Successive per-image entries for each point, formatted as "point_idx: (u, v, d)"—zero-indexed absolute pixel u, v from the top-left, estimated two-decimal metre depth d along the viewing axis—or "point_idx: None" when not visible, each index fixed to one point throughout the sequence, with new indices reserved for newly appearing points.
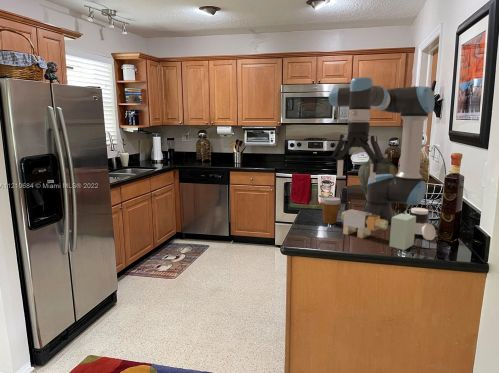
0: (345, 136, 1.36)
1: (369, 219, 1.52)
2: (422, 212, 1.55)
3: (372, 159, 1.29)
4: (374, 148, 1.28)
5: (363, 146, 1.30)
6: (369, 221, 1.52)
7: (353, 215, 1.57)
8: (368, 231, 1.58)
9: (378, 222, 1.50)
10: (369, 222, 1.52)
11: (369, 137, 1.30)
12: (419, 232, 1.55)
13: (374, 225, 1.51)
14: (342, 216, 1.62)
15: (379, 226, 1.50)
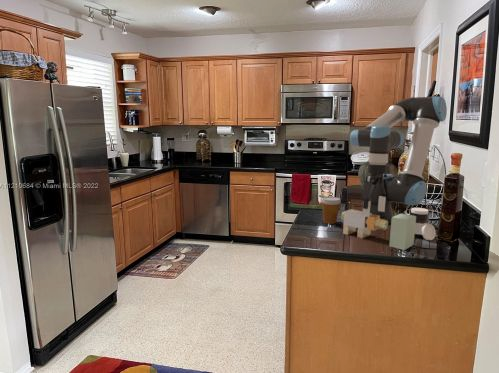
0: None
1: (369, 219, 1.52)
2: (422, 212, 1.55)
3: None
4: None
5: None
6: (369, 221, 1.52)
7: (353, 215, 1.57)
8: (368, 231, 1.58)
9: (378, 222, 1.50)
10: (369, 222, 1.52)
11: None
12: (419, 232, 1.55)
13: (374, 225, 1.51)
14: (342, 216, 1.62)
15: (379, 226, 1.50)
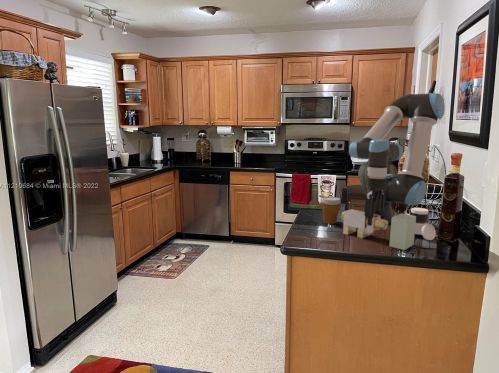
0: None
1: None
2: (422, 212, 1.55)
3: None
4: None
5: None
6: None
7: (353, 215, 1.57)
8: None
9: (378, 222, 1.50)
10: None
11: None
12: (419, 232, 1.55)
13: (374, 225, 1.51)
14: (342, 216, 1.62)
15: (379, 226, 1.50)
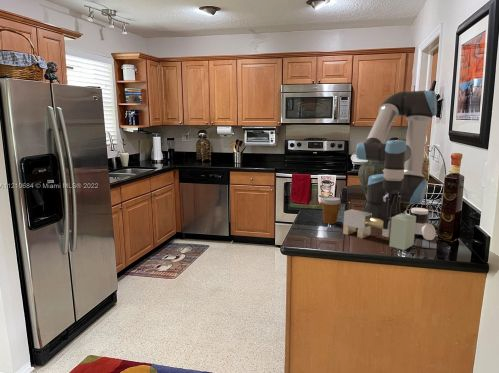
0: None
1: None
2: (422, 212, 1.55)
3: None
4: None
5: None
6: None
7: (353, 215, 1.57)
8: (368, 231, 1.58)
9: None
10: None
11: None
12: (419, 232, 1.55)
13: (390, 229, 1.46)
14: None
15: None
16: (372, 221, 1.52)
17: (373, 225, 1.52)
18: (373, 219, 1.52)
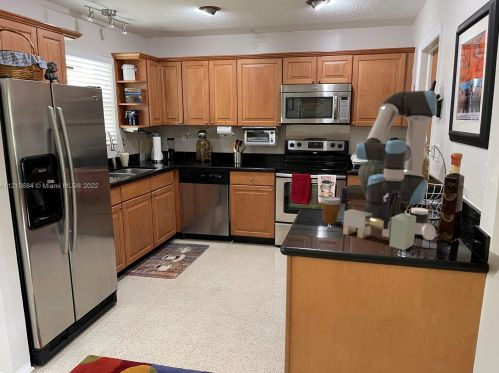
0: None
1: None
2: (422, 212, 1.55)
3: None
4: None
5: None
6: None
7: (353, 215, 1.57)
8: (368, 231, 1.58)
9: None
10: None
11: None
12: (419, 232, 1.55)
13: (390, 229, 1.46)
14: None
15: None
16: (372, 221, 1.52)
17: (373, 225, 1.52)
18: (373, 219, 1.52)
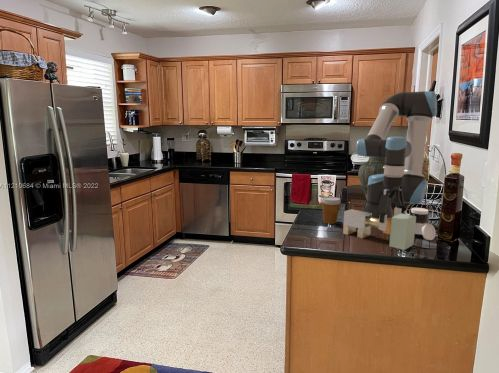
0: None
1: None
2: (422, 212, 1.55)
3: None
4: None
5: None
6: None
7: (353, 215, 1.57)
8: (368, 231, 1.58)
9: None
10: None
11: None
12: (419, 232, 1.55)
13: (390, 229, 1.46)
14: None
15: None
16: (372, 221, 1.52)
17: (373, 225, 1.52)
18: (373, 219, 1.52)
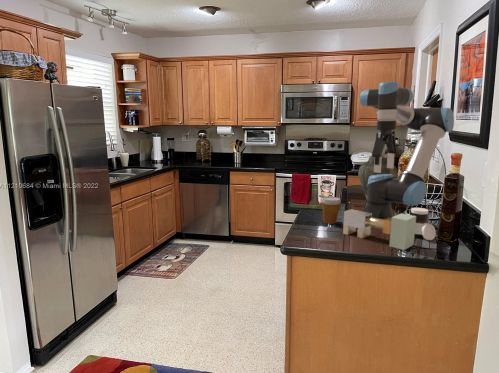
0: None
1: (385, 222, 1.47)
2: (422, 212, 1.55)
3: None
4: None
5: None
6: (385, 224, 1.48)
7: (353, 215, 1.57)
8: (368, 231, 1.58)
9: None
10: (385, 225, 1.48)
11: None
12: (419, 232, 1.55)
13: (390, 229, 1.46)
14: None
15: None
16: (372, 221, 1.52)
17: (373, 225, 1.52)
18: (373, 219, 1.52)
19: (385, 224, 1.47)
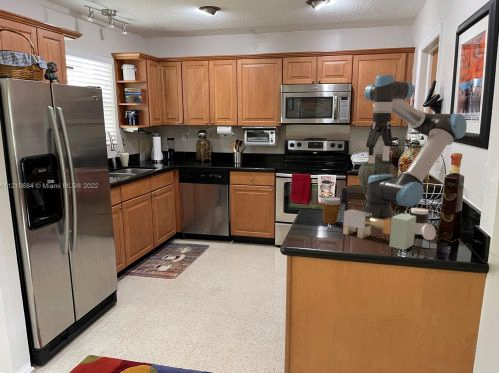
0: None
1: (385, 222, 1.47)
2: (422, 212, 1.55)
3: None
4: None
5: None
6: (385, 224, 1.48)
7: (353, 215, 1.57)
8: (368, 231, 1.58)
9: None
10: (385, 225, 1.48)
11: None
12: (419, 232, 1.55)
13: (390, 229, 1.46)
14: None
15: None
16: (372, 221, 1.52)
17: (373, 225, 1.52)
18: (373, 219, 1.52)
19: (385, 224, 1.47)
